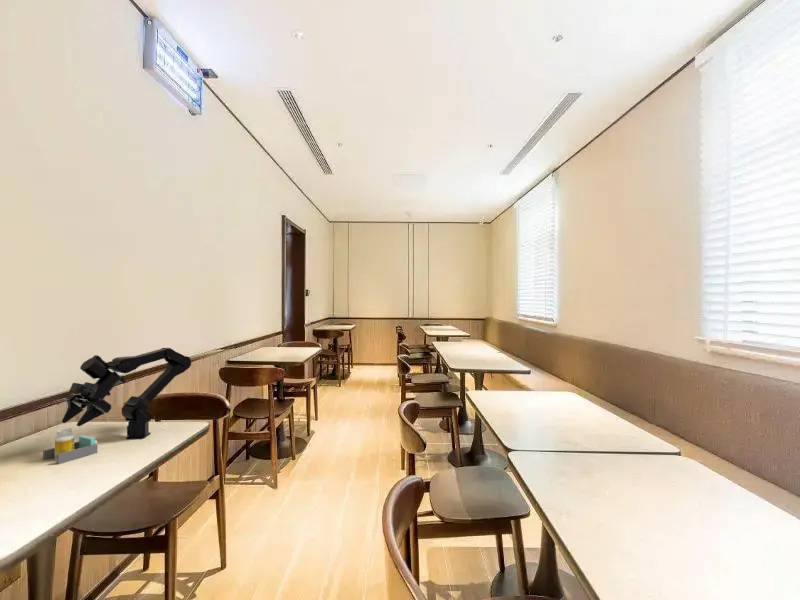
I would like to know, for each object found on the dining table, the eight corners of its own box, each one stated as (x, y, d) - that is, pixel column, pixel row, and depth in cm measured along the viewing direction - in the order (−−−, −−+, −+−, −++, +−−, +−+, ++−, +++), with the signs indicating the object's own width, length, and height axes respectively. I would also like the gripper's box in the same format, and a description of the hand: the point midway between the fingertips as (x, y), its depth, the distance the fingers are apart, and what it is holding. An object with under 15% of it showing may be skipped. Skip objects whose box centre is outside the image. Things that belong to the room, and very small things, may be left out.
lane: (88, 446, 162) (88, 433, 162) (104, 450, 157) (104, 436, 157) (42, 459, 149) (42, 444, 149) (58, 464, 144) (58, 448, 144)
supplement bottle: (54, 457, 151) (54, 429, 151) (73, 453, 154) (73, 426, 154) (54, 461, 147) (54, 433, 147) (74, 458, 150) (74, 429, 150)
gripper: (71, 371, 161) (36, 408, 151) (101, 375, 152) (66, 414, 143) (94, 389, 168) (62, 425, 158) (124, 393, 159) (92, 432, 150)
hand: (70, 424), depth 152 cm, fingers open, 9 cm apart
